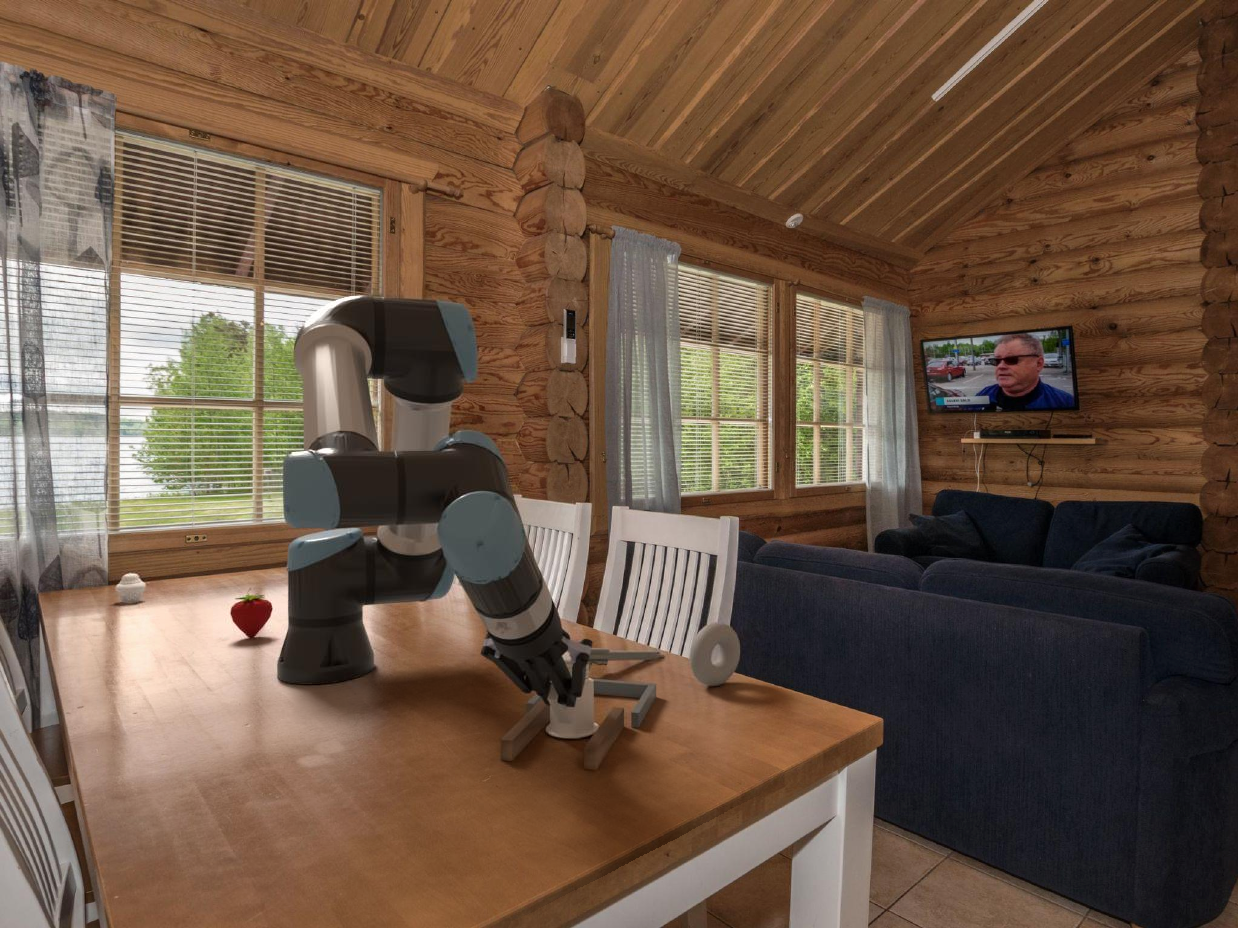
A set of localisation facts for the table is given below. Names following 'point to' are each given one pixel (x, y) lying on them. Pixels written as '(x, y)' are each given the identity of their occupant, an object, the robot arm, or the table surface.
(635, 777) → the table surface
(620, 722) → the slot
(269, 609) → the strawberry
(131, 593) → the muffin
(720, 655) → the donut
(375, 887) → the table surface
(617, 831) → the table surface
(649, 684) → the open frame
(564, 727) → the downlight
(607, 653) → the caliper
